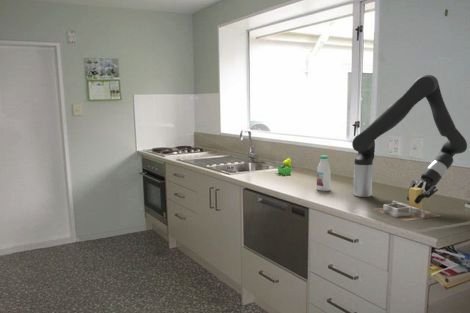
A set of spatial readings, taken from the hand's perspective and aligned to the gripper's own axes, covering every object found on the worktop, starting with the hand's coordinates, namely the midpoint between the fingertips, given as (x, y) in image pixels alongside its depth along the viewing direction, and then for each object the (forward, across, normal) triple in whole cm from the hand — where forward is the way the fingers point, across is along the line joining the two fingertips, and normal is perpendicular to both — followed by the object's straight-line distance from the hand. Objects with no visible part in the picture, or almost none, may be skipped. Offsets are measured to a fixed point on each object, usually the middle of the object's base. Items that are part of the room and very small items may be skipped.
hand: (412, 201), depth 177 cm
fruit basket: (+11, -110, -1) cm, 110 cm away
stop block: (+2, 0, +4) cm, 5 cm away
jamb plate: (+7, 0, +2) cm, 7 cm away
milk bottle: (+12, -57, -3) cm, 58 cm away
